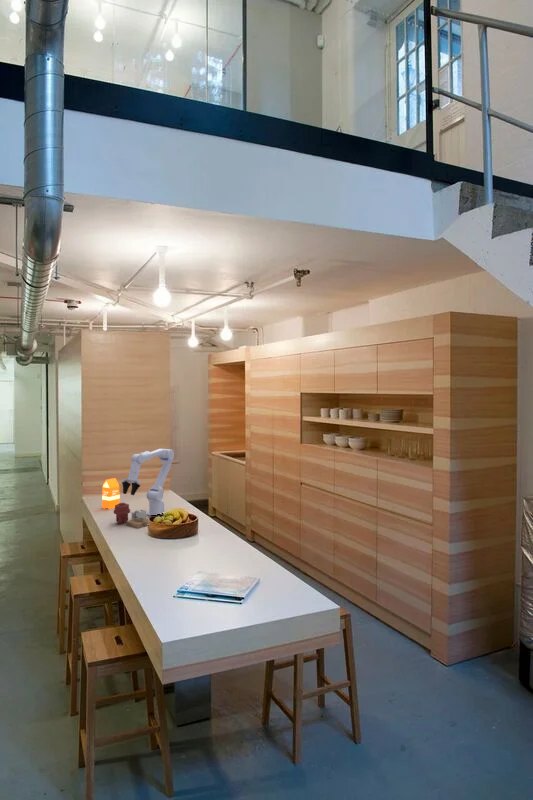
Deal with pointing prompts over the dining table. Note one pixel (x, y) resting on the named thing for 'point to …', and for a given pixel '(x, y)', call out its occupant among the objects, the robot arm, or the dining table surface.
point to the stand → (137, 522)
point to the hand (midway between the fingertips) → (128, 494)
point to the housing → (139, 514)
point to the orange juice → (110, 493)
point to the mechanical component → (121, 512)
